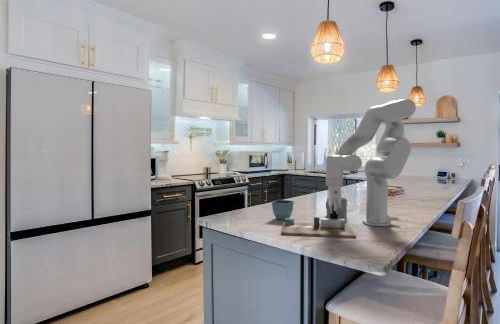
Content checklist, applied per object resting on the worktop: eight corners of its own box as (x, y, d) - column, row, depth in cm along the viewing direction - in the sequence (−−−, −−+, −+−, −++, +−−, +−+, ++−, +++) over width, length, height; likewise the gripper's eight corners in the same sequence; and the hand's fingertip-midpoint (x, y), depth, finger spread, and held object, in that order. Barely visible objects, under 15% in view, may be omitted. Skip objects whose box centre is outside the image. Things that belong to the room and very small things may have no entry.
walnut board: (349, 227, 145) (349, 215, 144) (356, 238, 127) (356, 225, 127) (283, 224, 149) (283, 213, 149) (281, 234, 132) (281, 222, 131)
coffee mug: (350, 219, 160) (350, 199, 160) (332, 220, 158) (332, 200, 158) (337, 213, 174) (337, 195, 173) (320, 214, 171) (321, 196, 171)
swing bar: (344, 226, 139) (344, 218, 139) (344, 228, 137) (345, 220, 137) (320, 225, 141) (320, 218, 141) (320, 227, 138) (321, 219, 138)
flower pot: (271, 219, 159) (271, 202, 159) (278, 216, 167) (278, 199, 167) (287, 221, 155) (287, 203, 155) (293, 218, 163) (293, 200, 163)
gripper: (345, 184, 135) (344, 226, 136) (340, 180, 150) (340, 218, 151) (327, 183, 137) (326, 225, 137) (324, 180, 151) (324, 218, 152)
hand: (333, 222), depth 144 cm, fingers closed
